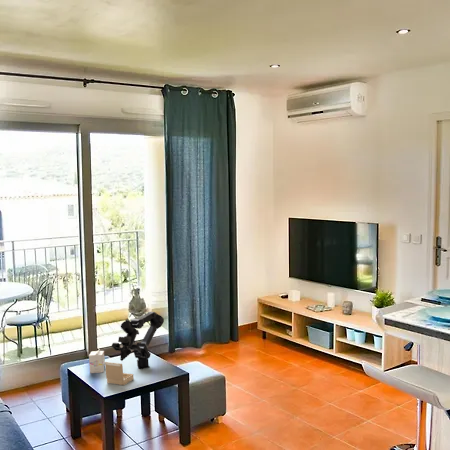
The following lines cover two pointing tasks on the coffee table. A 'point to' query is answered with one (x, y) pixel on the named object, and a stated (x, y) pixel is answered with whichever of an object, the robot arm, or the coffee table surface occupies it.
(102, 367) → the ink box
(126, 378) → the mailer
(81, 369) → the coffee table surface
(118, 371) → the lid
